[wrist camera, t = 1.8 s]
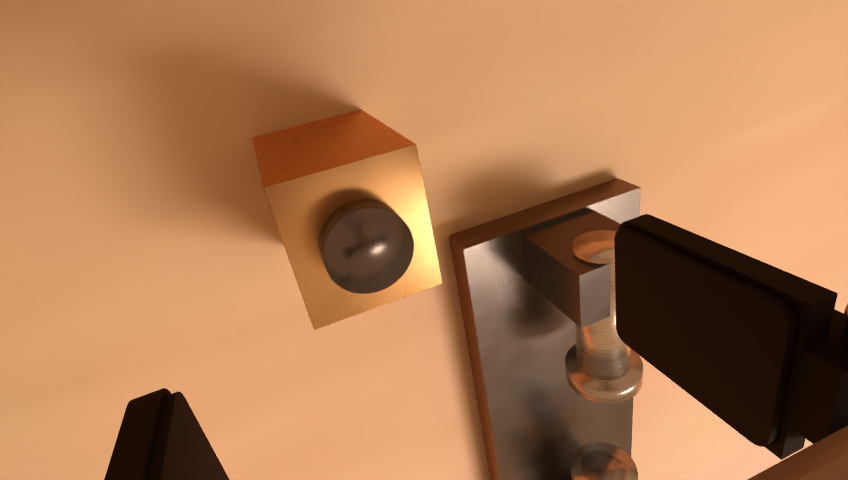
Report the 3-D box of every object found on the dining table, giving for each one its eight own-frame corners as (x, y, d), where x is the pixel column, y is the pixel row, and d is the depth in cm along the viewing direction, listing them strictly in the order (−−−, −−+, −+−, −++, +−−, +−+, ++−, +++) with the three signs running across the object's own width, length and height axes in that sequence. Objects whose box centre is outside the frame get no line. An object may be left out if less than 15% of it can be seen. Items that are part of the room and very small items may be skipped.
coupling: (252, 137, 17) (265, 197, 11) (361, 109, 18) (426, 151, 12) (290, 246, 19) (318, 346, 13) (386, 215, 20) (452, 296, 14)
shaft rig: (449, 236, 21) (521, 305, 16) (617, 178, 23) (730, 223, 18) (496, 512, 30) (552, 613, 25) (614, 453, 33) (688, 535, 27)
